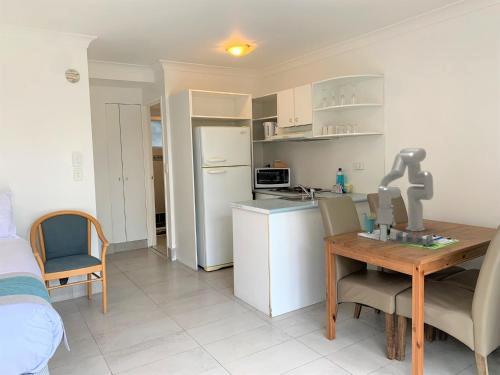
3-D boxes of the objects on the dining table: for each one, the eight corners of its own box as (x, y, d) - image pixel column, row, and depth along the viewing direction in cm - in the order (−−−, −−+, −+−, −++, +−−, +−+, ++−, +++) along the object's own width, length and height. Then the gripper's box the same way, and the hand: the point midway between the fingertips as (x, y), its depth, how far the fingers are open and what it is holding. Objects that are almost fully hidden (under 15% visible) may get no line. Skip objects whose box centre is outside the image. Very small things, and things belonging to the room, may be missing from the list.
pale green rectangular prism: (384, 237, 258) (384, 223, 257) (390, 238, 256) (390, 223, 255) (380, 240, 252) (380, 224, 251) (385, 240, 250) (385, 225, 249)
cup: (365, 234, 269) (365, 213, 268) (357, 233, 276) (357, 212, 275) (379, 232, 276) (379, 211, 275) (371, 230, 283) (370, 210, 282)
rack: (400, 238, 254) (400, 230, 254) (433, 241, 242) (433, 233, 241) (394, 242, 244) (394, 233, 243) (428, 246, 232) (428, 237, 231)
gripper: (400, 206, 250) (400, 234, 251) (374, 205, 260) (374, 232, 262) (396, 208, 244) (396, 237, 246) (370, 206, 254) (370, 234, 256)
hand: (385, 234), depth 254 cm, fingers closed on pale green rectangular prism, 3 cm apart
